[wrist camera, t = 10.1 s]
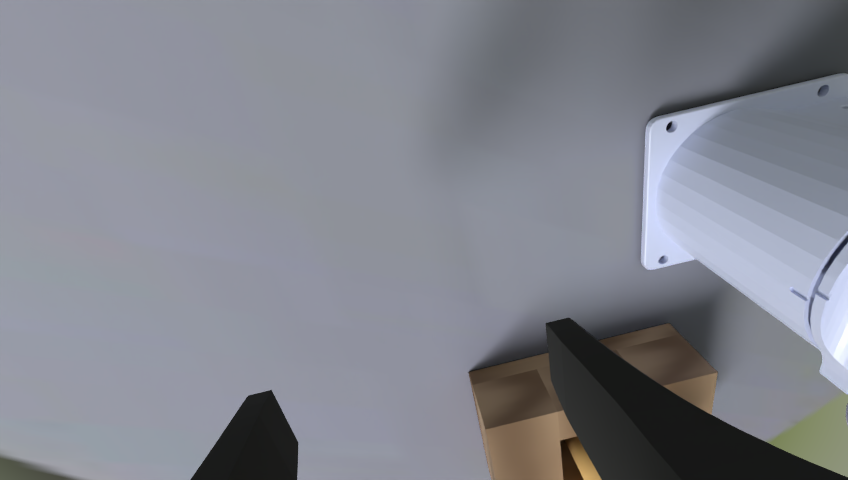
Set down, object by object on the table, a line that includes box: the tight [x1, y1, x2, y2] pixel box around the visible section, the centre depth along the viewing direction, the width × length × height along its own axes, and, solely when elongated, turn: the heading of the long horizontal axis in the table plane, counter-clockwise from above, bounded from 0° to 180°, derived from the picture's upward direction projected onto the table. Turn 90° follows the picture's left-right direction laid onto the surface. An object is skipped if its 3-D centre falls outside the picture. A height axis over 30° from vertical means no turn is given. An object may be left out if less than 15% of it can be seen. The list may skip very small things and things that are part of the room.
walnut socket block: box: [469, 323, 718, 480], centre depth 26 cm, size 12×9×4 cm
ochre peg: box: [564, 436, 602, 480], centre depth 23 cm, size 3×3×8 cm
